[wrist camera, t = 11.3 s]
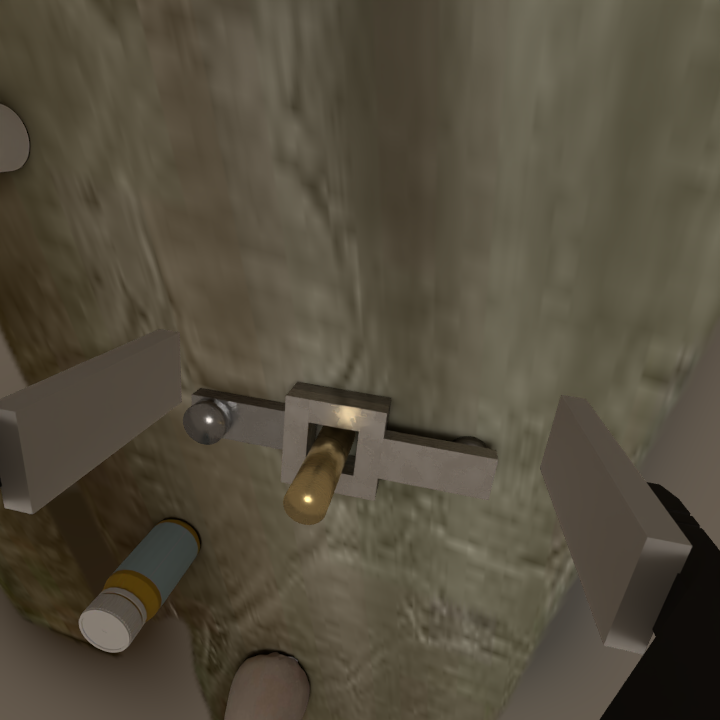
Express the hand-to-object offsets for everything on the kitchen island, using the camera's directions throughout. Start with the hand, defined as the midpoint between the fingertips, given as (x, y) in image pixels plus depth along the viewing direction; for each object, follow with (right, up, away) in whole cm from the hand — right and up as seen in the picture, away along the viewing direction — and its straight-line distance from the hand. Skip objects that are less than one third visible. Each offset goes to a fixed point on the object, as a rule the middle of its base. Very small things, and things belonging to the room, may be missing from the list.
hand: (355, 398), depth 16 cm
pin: (-2, -7, +38) cm, 39 cm away
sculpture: (-13, -47, +54) cm, 73 cm away
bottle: (-25, -23, +48) cm, 59 cm away
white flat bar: (-2, -7, +38) cm, 39 cm away
